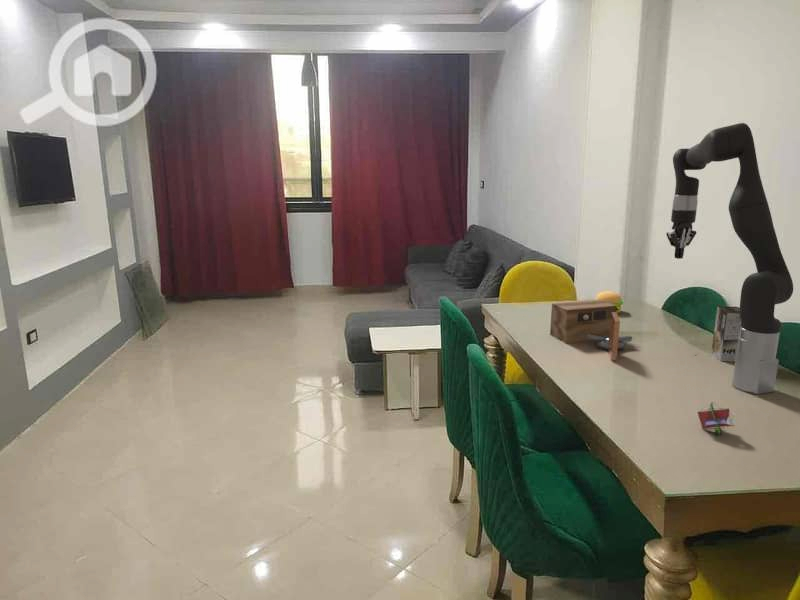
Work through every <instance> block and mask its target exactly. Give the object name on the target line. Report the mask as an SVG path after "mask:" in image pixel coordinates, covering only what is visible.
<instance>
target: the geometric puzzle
mask: <svg viewBox="0 0 800 600" xmlns="http://www.w3.org/2000/svg"><path fill="white" fill-rule="evenodd" d="M713 404H714V402H713V401H712V402H711V403H710V404H709V408H708V409H707V410H706V409H705V410H703V409H704V408H705V407H706V406H705V407H703V408H701V409H700V410H699V411H697V415H698V418H699V422H700V425H701V428H702V430H703V429H704V430H706V429H707V431H708V432H709V430H712V429H716V430H717V433H718V434H717V433H715V432H714V430H712V433H715V434H716V435H717V436H719V437H720V436H721V432H722V431H723V429H724V428H726V427H727V428H731V427H734V426H735V415H734V414H733V413H732V411H731V409H730V408H721V407H722V405H721V404H720V405H719V409H715V406H716V407H718V404H715V406H714V405H713ZM708 429H709V430H708Z"/></svg>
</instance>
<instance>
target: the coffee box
mask: <svg viewBox="0 0 800 600" xmlns="http://www.w3.org/2000/svg"><path fill="white" fill-rule="evenodd" d="M739 309H740V306H720V305H719V306H717V307H716V315H715V321H714V322H715V324H714V330H713V338H712V346H711V353H712V355H714V356H715V357H716V358H717V359H718V360H719V361H721V362H733V363H735V360H736V353H737V346H738V340H739V333H740V327H741V319H740V315H739Z"/></svg>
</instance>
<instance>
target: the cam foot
mask: <svg viewBox="0 0 800 600" xmlns="http://www.w3.org/2000/svg"><path fill="white" fill-rule="evenodd" d="M620 325H621V321H620V317H619V315H618V313H616V312H611V323H610V334H609V337H605V336H601V335H596V334H592V333H588V337H587V338H589V339H594V340H593V341H595V347H597V348H599V349H601V350H605V351H608V354H609V357H610V360H611V361H617V357H618V351H620V350H623V349H624V344H625V342H628V343H629V342H632V340H633V336H631V335H623V336H620Z"/></svg>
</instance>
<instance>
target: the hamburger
mask: <svg viewBox="0 0 800 600" xmlns="http://www.w3.org/2000/svg"><path fill="white" fill-rule="evenodd" d="M598 299H600V300H602V301H605V302H608V303H610V304H613V305H616V313H617V314H619V313H620V312H621V309H622V305H623V304H624V300H623V299H622V297H621V295H620V294H618V293H617V292H614V291H611V290H606V291H601V292H599V293H598V294H597V295H596V297H595V298H594V299H593V300H598Z"/></svg>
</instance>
